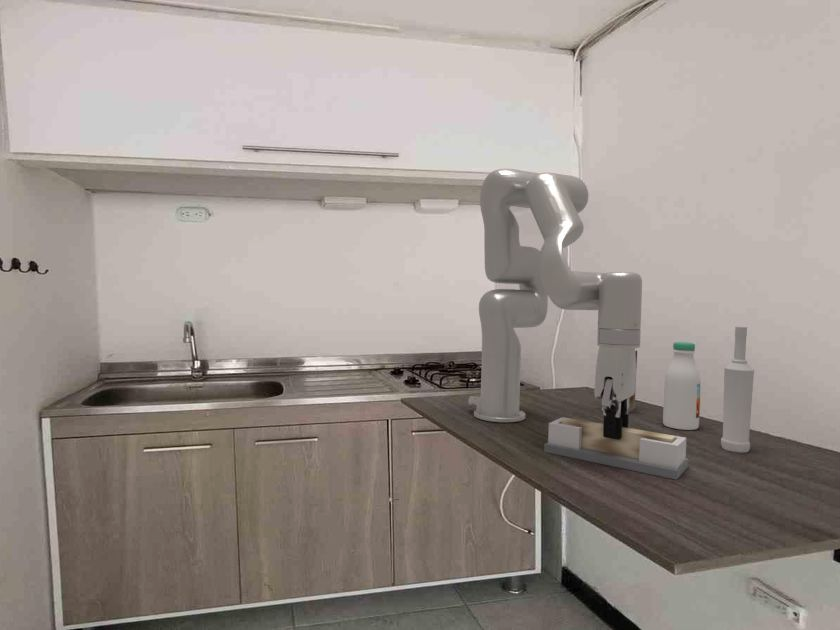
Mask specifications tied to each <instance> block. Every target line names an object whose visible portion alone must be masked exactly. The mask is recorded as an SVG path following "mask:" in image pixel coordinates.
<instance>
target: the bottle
mask: <svg viewBox="0 0 840 630" xmlns="http://www.w3.org/2000/svg"><path fill="white" fill-rule="evenodd" d="M734 328H735V329H734V350H733V351H734V352H733V353H734V354H733V359H731V362H730V363H728V364H727V365H726V366H724V369H723V370H724V371H723V373H724V374H723V375H724V377H723V378H724V380H723V408H722V409H723V410H722V411H723V416H722V418H723V419H722V437H721V438H720V445H721V448H722V449H723V450H725V451H728V452H733V453H740V454H741V453H742V454H744V453H748V452H749V451H750V449H751V442H750V431H751V429H750V428H751V419H752V418H751V415H752V406H753V405H752V403H753V389H754V388H753V387H754V375H755V369H753V367H751V366H750V365H749V364H748V361H747V360H746V351H747V334H748V327H746V326H734Z"/></svg>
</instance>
